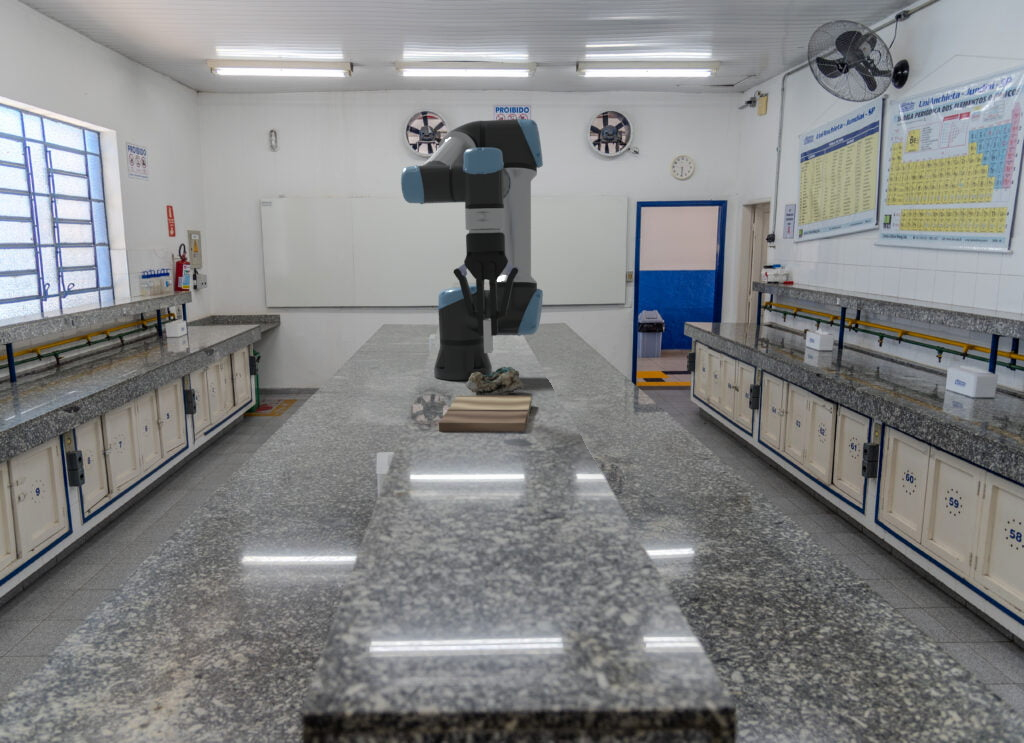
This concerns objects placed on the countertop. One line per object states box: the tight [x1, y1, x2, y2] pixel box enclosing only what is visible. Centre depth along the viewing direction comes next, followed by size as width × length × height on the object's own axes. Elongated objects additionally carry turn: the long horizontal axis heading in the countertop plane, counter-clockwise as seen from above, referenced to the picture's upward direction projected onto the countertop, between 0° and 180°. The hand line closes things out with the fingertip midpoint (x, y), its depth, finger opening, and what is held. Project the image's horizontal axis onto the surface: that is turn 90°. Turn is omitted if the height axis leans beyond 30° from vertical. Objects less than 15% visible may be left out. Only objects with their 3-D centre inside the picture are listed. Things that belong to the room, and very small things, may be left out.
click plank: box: [448, 395, 533, 418], centre depth 145 cm, size 10×16×2 cm, turn 85°
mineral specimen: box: [465, 366, 524, 396], centre depth 160 cm, size 12×9×8 cm
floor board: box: [438, 409, 529, 432], centre depth 134 cm, size 10×16×2 cm, turn 85°
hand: (488, 351), depth 140 cm, fingers closed
